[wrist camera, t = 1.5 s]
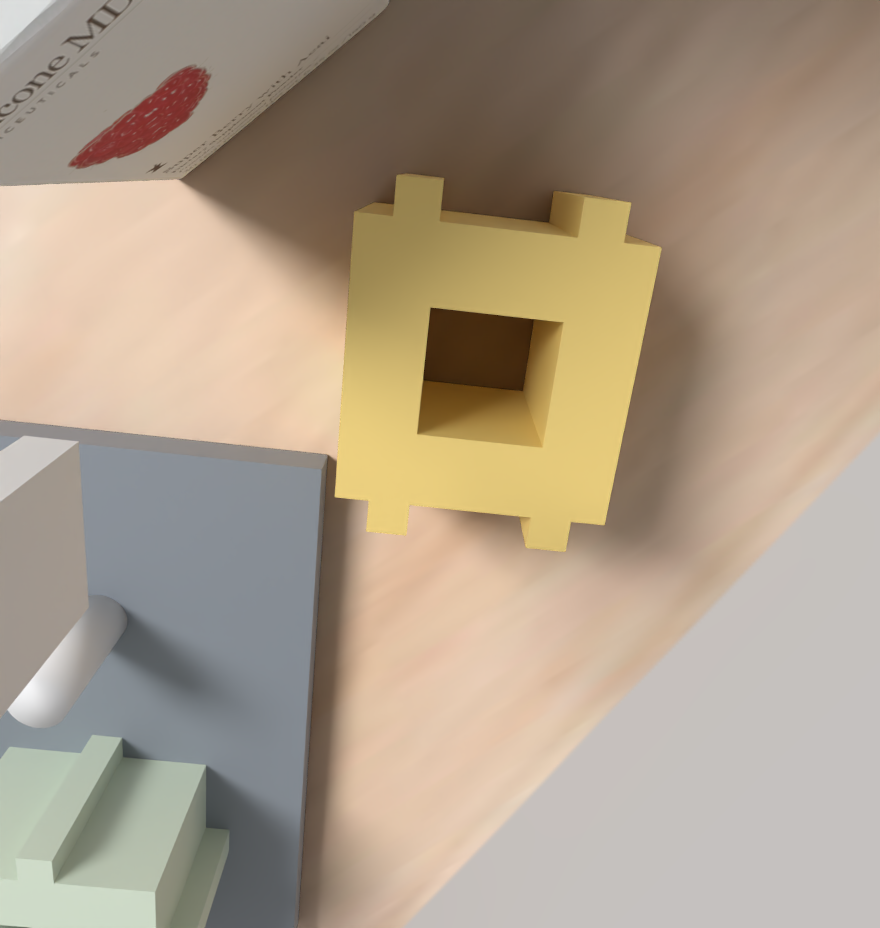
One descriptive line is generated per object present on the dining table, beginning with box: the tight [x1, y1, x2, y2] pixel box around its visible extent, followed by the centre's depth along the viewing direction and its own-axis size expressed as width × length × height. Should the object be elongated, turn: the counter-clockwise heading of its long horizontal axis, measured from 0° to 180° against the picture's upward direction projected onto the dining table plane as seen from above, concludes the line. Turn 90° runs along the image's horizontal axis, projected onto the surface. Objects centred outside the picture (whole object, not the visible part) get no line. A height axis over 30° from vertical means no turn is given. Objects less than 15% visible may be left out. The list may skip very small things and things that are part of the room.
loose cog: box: [335, 173, 662, 552], centre depth 24 cm, size 10×8×6 cm
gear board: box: [0, 420, 328, 928], centre depth 29 cm, size 24×16×8 cm, turn 174°
